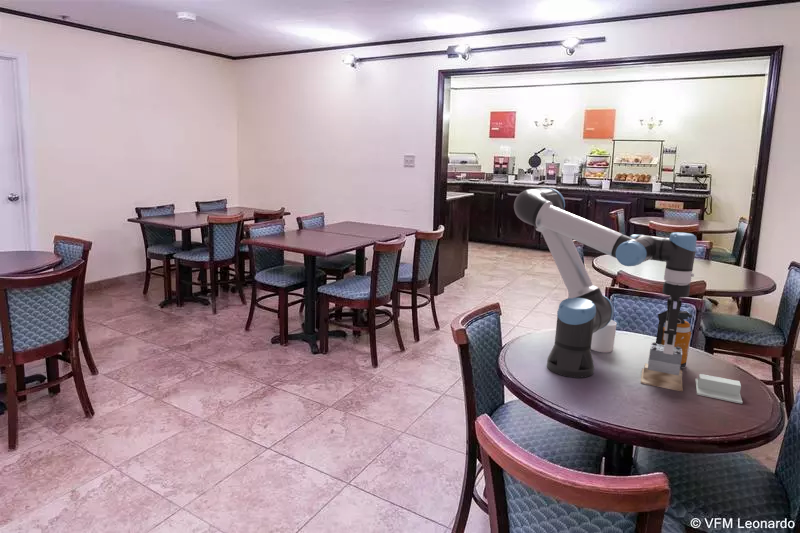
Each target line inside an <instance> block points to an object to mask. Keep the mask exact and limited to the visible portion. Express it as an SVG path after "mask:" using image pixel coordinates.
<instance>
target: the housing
mask: <svg viewBox="0 0 800 533" xmlns="http://www.w3.org/2000/svg"><path fill="white" fill-rule="evenodd" d="M649 349H650V350H649V355H648V362H647V364H648V370H653V371H658V372H663V373H669V374H674V375H679V372H680V370H681V368H680V366H681V360H682V348H681V347H674V351H673V355H671V354H665V353H663V351H664V345H661V344H657V343H656V341H655V342H651V343H650V348H649Z"/></svg>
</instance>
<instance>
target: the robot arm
mask: <svg viewBox="0 0 800 533" xmlns="http://www.w3.org/2000/svg"><path fill="white" fill-rule="evenodd" d="M565 207H566V202H565V198H564V196H563V194H562V193H561V192H560V191H558V190H557V189H555V188H552V187H540V188H539V187H538V188H529V189H525V190H523V191H521V192H520V193H519V194H517V196H516V198H515V200H514V203H513V209H514V213H515V215H516V217H517V218H518V219H520V220H521V221H522V222H524V223H526V224H528V225H530V226H534V230H536V231H537V232H539V233H541V235H542V236H543V239H544V241H545V243H546V245H547V247H548V249H549V252H550V254H551V256H552V258H553V260H554V263H555V265H556V267H557V270H558V272H559V274H560V276H561V279H562V281H563V283H564V285H565V287H566V290H567V292H568V297H567V298H565V299H563V300H561V302H559V305H558V308H557V313H556V314H557V315H556V316H557V317H556V327H555V336H554V345H553V347H552V349H551V350H550V353H549V355H548V357H547V361H546V367H547V369H548V370H550V371H551V372H552V373H555V374H558V375H561V376H564V377H568V378H578V379H579V378H580V379H581V378H588V377H590V376H593V374H594V370H595V364H594V359H593V355H592V349H591V343H592V335H593V333H594V332H596V331H597V330H599V329H602V328H604V327H605V326H607V325H608V323H609V322H610V321H611V320H613V317H614V314H615V309H614V305H613V303H612V301H611V300H610V299H609V297H607V296H605V295H603V293H602V291H601V288H600V287H599V286H597V285H594V284H593V282H592V280H591V278H590V275H589V273H588V271H587V269H586V267H585V265H584V263H583V261H582V258H581V255H580V253H579V251H578V250H577V247H576V245H575V242H577V243H580V244H582V245H585V246H587V247H589V248H592V249H594V250H596V251H599V252H601V253H602V254H603V253H604V254H606V255H607V256H611V257H613V258H615V259H616V260H617V261H618V263H619V264H621V265H622V266H625V267H636V266H638V265H641V264H642V263H645V262H647V261H657V262H665V264H666V265H665V269H664V275H663V280H664V282H663V283H662V284H663V285H662V294H664V295H666V296H669V298H667V300H666V311H667V315H666V316H667V317H666V319H667V320H668V321H666V324H665V323H664V326H665V331H664V339H663V340H665V343H664V351H663V353H665V354H671V355H673V351H674V344H675V337H676V334H677V332H676V330H677V322H678V315H679V313H680V311H681V308H682V304H683V303H682V299H681V298H688V297H689V296H690V290H691V282H692V277H694V276H695V273H693V270H694V269H693V268H694V264H695V263H694V262H695V258H696V257H695V256H696V252H697V240H698V238H697V236H696V234H695V235H694V233H688V232H678V231H677V232H676V231H675V232H674V231H673V232H671V233H670V235H669V237H661V236H654V235H653V236H652V235H645V234H631V235H630V236H628V235H625V234H623V233H621V232H618V231H616V230H613V229H611V228H609V227H606V226H603V225H601V224H599V223H596V222H594V221H591V220H589V219H586V218H584V217H581V216H579V215H576V214H574V213H571V212H569V211H566V210H565ZM574 241H575V242H574Z"/></svg>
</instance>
